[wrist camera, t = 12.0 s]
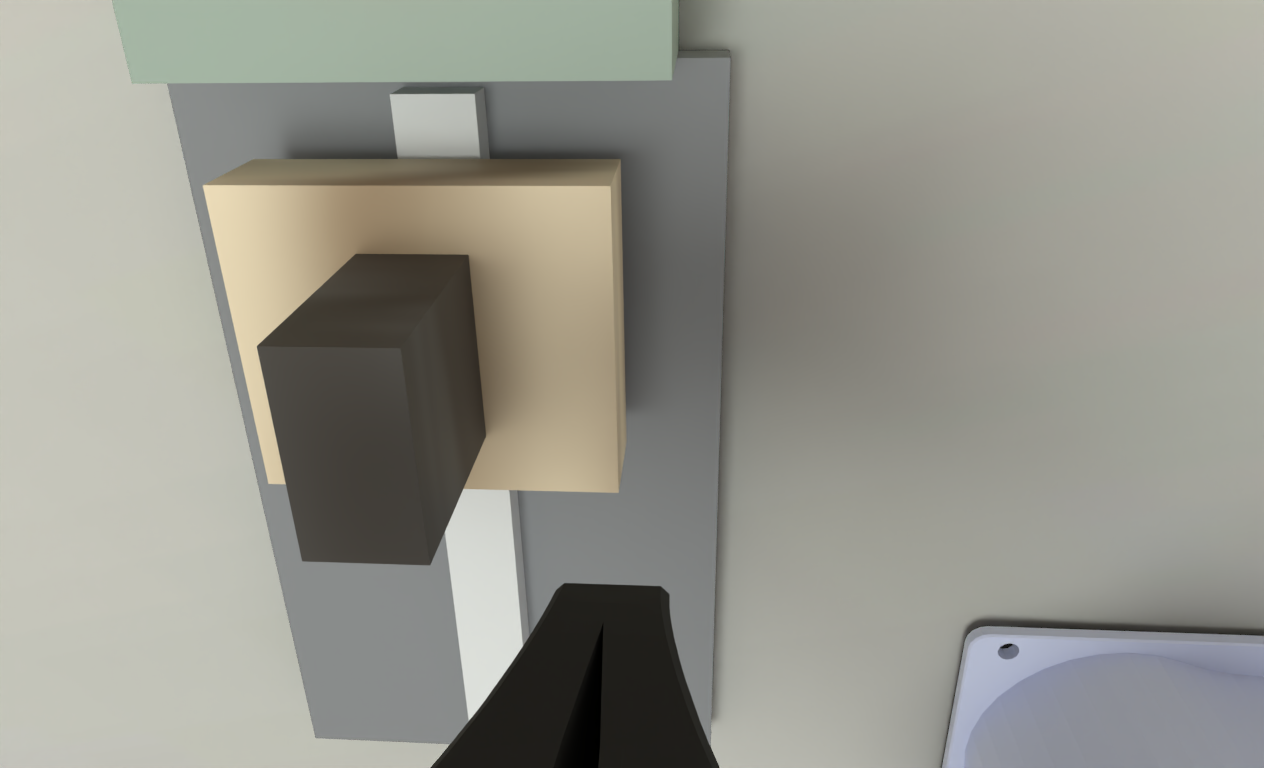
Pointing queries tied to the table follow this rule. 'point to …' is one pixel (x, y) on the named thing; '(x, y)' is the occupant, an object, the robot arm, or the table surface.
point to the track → (511, 519)
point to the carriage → (424, 336)
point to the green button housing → (397, 40)
